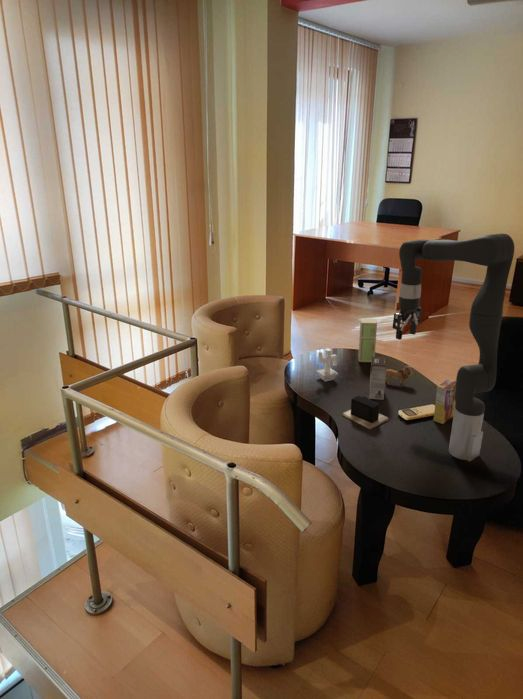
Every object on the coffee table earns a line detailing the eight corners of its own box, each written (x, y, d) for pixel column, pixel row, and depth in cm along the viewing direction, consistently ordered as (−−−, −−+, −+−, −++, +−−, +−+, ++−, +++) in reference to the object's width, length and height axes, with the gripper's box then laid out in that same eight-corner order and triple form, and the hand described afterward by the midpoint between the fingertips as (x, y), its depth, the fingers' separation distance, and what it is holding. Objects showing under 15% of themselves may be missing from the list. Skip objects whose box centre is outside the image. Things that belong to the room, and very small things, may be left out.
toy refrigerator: (358, 362, 250) (360, 322, 242) (357, 356, 257) (360, 317, 249) (374, 363, 249) (377, 323, 241) (373, 357, 256) (376, 318, 248)
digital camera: (380, 418, 197) (381, 402, 194) (372, 423, 193) (373, 407, 191) (358, 409, 204) (359, 394, 201) (350, 414, 200) (351, 398, 198)
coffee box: (368, 389, 223) (371, 356, 217) (383, 390, 221) (386, 357, 215) (368, 399, 214) (371, 364, 208) (384, 400, 213) (387, 365, 207)
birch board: (388, 419, 198) (388, 417, 197) (369, 429, 191) (370, 427, 191) (360, 406, 208) (361, 404, 207) (342, 415, 201) (342, 413, 201)
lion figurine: (411, 382, 229) (413, 364, 226) (412, 387, 224) (414, 369, 221) (378, 380, 232) (379, 362, 228) (378, 385, 227) (380, 366, 223)
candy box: (443, 412, 203) (448, 378, 197) (453, 416, 200) (458, 381, 194) (432, 420, 197) (436, 385, 191) (442, 424, 194) (447, 389, 188)
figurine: (339, 380, 232) (341, 350, 226) (321, 383, 228) (323, 353, 223) (331, 374, 238) (332, 344, 232) (314, 377, 234) (315, 348, 229)
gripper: (412, 289, 191) (408, 329, 197) (389, 296, 183) (385, 338, 189) (430, 293, 186) (425, 334, 192) (406, 300, 177) (402, 343, 183)
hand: (405, 336), depth 190 cm, fingers open, 8 cm apart
